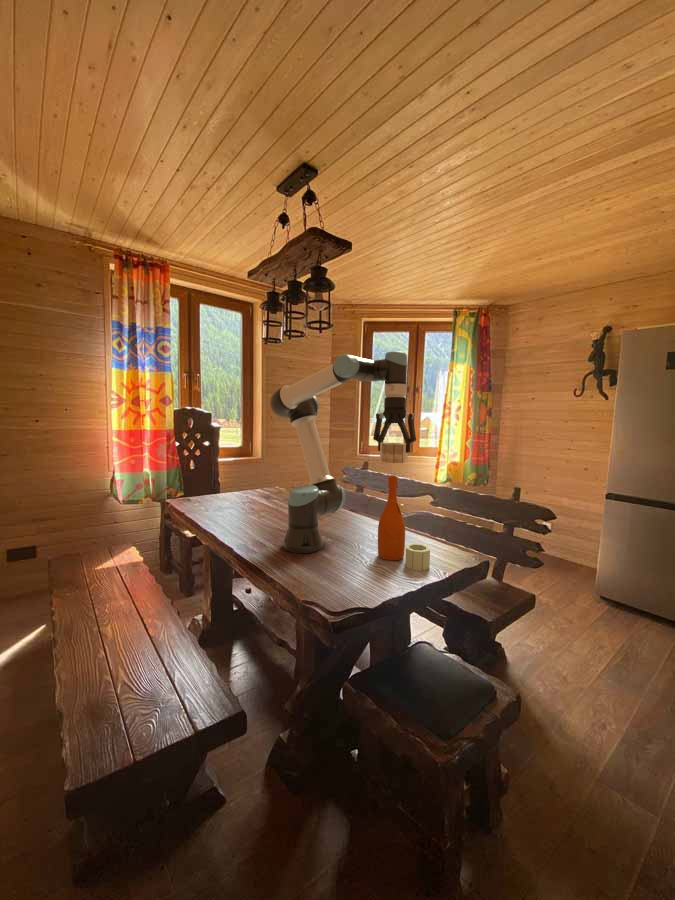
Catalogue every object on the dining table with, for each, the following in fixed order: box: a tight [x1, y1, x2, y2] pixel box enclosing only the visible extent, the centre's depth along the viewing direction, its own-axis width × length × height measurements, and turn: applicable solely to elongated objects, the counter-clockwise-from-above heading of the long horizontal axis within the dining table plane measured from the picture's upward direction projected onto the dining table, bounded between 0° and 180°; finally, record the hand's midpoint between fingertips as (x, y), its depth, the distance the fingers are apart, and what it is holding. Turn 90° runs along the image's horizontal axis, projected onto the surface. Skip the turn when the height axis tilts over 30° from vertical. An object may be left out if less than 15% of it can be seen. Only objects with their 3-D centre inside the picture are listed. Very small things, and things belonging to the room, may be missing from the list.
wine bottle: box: [377, 474, 406, 562], centre depth 135 cm, size 10×10×30 cm
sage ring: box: [404, 542, 431, 572], centre depth 128 cm, size 8×8×6 cm
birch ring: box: [381, 442, 405, 464], centre depth 133 cm, size 8×8×6 cm
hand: (393, 461), depth 133 cm, fingers closed on birch ring, 8 cm apart
